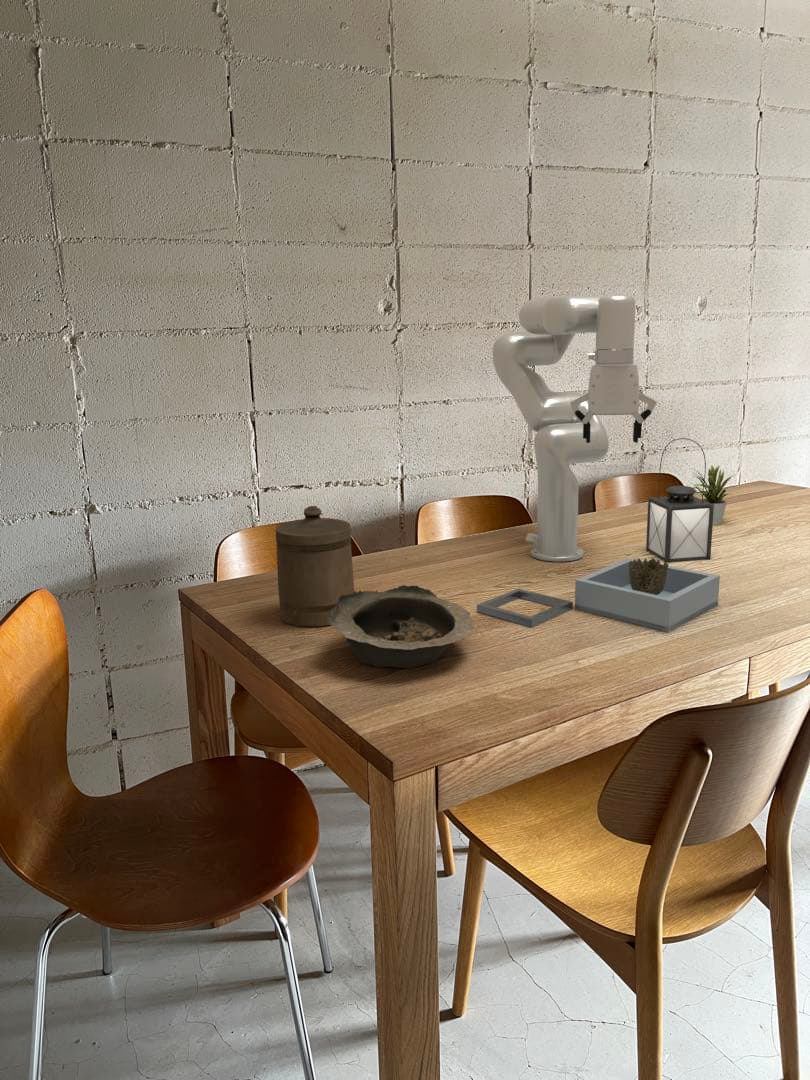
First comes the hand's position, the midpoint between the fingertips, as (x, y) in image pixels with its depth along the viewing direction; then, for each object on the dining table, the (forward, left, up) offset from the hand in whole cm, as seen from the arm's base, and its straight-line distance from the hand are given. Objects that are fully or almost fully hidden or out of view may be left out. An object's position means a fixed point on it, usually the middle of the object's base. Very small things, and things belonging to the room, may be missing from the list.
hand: (611, 441), depth 176 cm
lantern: (+2, +28, -31) cm, 42 cm away
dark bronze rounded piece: (+15, -10, -30) cm, 35 cm away
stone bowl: (-5, -58, -31) cm, 66 cm away
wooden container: (-32, -55, -31) cm, 71 cm away
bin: (+15, -10, -30) cm, 35 cm away
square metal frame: (-2, -27, -30) cm, 41 cm away
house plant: (-7, +63, -31) cm, 70 cm away
